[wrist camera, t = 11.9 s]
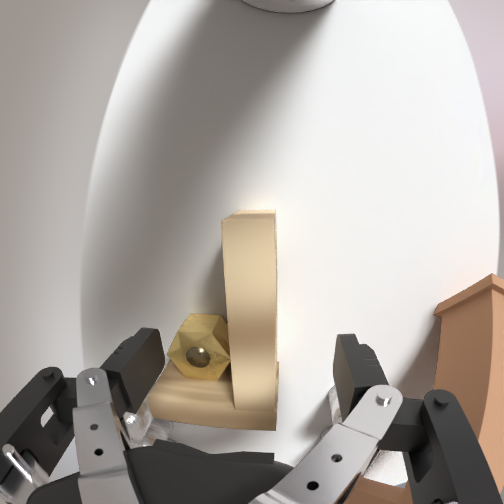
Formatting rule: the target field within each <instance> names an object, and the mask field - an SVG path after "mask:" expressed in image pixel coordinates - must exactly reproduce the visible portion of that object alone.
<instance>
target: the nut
mask: <svg viewBox="0 0 504 504" xmlns="http://www.w3.org/2000/svg"><path fill="white" fill-rule="evenodd" d="M167 355H168V356H169V358H170V359H171V360H172V361H173V363H174V364H175V365H176V366H177V368H178V369H179V370H180V371H181V372H182V374H183V375H184V376H185V377H186V378H190V379H200V380H211V381H218V379H219V377H220V376H221V374H222V373H223V371H224V370H225V368H226V367H227V365H228V364H229V362H230V361H231V358H230V346H229V334H228V325H227V324H226V322H225V321H224V320H223V318H222V317H221V315H210V314H190V315H189V316H188V317H187V319H186V320H185V322H184V323H183V324H182V326H181V327H180V329H179V330H178V332H177V334H176V336H175V338H174V340H173V342H172V344H171V347H170V349H169V351H168V353H167Z"/></svg>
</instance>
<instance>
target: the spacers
mask: <svg viewBox="0 0 504 504" xmlns="http://www.w3.org/2000/svg"><path fill="white" fill-rule="evenodd" d="M155 384H156V383H154V385H153V386H152V388H151V390H152V389H153V387H154V386H155ZM151 390H150V391H149V393H148V395H149V394H150V392H151ZM148 395H147V396H146V398H147V397H148ZM328 397H329V403H330V409H331V415H332V421H333V426H334V425H335V424H336V423H341V424H342V418H341V412H340V407H339V402H338V397H337V392H336V387H335V386H333V387H332V389H331V390H330V392H329V395H328ZM146 398H145V400H144V401H143V403H142V405H141V406H140V408H139V410H138V411H137V413H136V414H133V413H129V412H125V414H124V415H123V416H124V418H125V421H126V424H127V427H128V430H129V433H130V437H131V440H132V443H133V445H134V448H136V447H142V446H152V445H153V443H154V441H155V439H161V440H165V441H170V442H175V441H173V440H171V439H169V438H168V437H169V435H170V433H171V430H172V428H173V423H172V421H169V420H164V419H159V418H154V417H153V416H152V414H151V411H150V408H149V405H148V402H147V399H146ZM333 426H332V427H333ZM332 427H329V428H327V429H326V430H324V431H323V433H322V434H321V440H322V439H323V437H324V436H325V435H326V434H327V433H328V432H329V431H330V429H331V428H332Z"/></svg>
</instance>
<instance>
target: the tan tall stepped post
mask: <svg viewBox="0 0 504 504" xmlns="http://www.w3.org/2000/svg"><path fill="white" fill-rule="evenodd" d="M433 315H435V316H438V317H440V318H442V321H441V334H440V344H439V353H438V361H437V368H436V374H435V381H434V386H433V390H435V389H443V390H447V391H449V392H451V393H452V394H454V395H455V397H456V398H457V400H458V402H459V404H460V406H461V407H462V409H463V411H464V413H465V415H466V417H467V419H468V421H469V423H470V425H471V427H472V429H473V431H474V433H475V436H476V438H477V440H478V442H479V444H480V446H481V449H482V451H483V453H484V455H485V458H486V460H487V462H488V465H489V467H490V470H491V472H492V475H493V477H494V480H495V483H496V485H497V488H498V491H499V494H500V493H501V491H502V488H503V486H504V280H503V279H501V278H499V277H498V276H496V275H494V274H493V273H492V274H490V275H488V276H487V277H485V278H484V279H482V280H480V281H479V282H477V283H475V284H474V285H472V286H470V287H468V288H467V289H465V290H463V291H461V292H460V293H458V294H456V295H454V296H453V297H451V298H449V299H447V300H445V301H443V302H441V303H439V304H438V306H437V308H436V310H435V312H434V314H433ZM345 504H413V501H412V495H411V490H410V485H409V480H408V481H407V483H406V486H405V488H400V487H396V486H392V485H388V484H384V483H380V482H377V481H373V480H370V479H366V478H362V480H361V481H360V483H359V484H358V486H357V487H356V489H355V490H354V492H353V493H352V495H351V496H350V497H349V499H348V500H347V501H346V503H345Z"/></svg>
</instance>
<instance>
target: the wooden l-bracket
mask: <svg viewBox="0 0 504 504" xmlns="http://www.w3.org/2000/svg"><path fill="white" fill-rule="evenodd" d="M221 224H222V243H223V261H224V277H225V293H226V307H227V321H228V334H229V346H230V358H231V361H230V362H229V364H228V365H227V367H226V368H225V370H224V371H223V373H222V374H221V376H220V377H219V379H218V381H211V380H200V379H190V378H186V377H185V376H184V375H183V374H182V372H181V371H180V370H179V369H178V368H177V366H176V365H175V364H174V363H173V361H172V360H170V362H169V363H168V365H167V366H166V368H165V370H164V371H163V373H162V374H161V376H160V378H159V379H158V381H157V382H156V384H155V386H154V387H153V389H152V390H151V392H150V394H149V395H148V397H147V398H146V399H147V402H148V405H149V408H150V411H151V414H152V416H153V417H154V418H159V419H164V420H169V421H175V422H181V423H187V424H194V425H202V426H210V427H220V428H231V429H245V430H267V431H276V421H277V402H278V379H279V362H277V236H276V210H244V211H238V212H236V213H234V214H232V215H231V216H229V217H227V218H225V219H223V220H222V221H221Z"/></svg>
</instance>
